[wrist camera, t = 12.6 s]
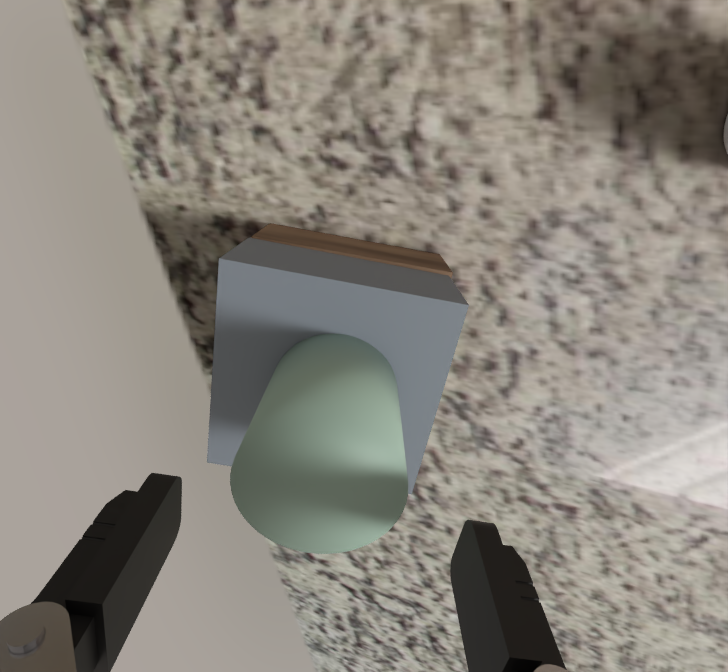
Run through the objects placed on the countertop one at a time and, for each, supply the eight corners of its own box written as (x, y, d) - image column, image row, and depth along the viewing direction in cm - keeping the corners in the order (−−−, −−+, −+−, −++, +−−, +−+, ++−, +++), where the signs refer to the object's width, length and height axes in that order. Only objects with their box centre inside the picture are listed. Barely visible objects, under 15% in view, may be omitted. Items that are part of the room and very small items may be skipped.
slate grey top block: (248, 237, 21) (218, 258, 17) (449, 275, 21) (468, 305, 17) (234, 410, 25) (207, 462, 20) (404, 438, 25) (411, 494, 21)
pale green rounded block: (279, 322, 18) (237, 397, 12) (410, 346, 18) (427, 430, 12) (266, 432, 20) (224, 540, 14) (383, 452, 20) (388, 564, 14)
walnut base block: (271, 222, 25) (251, 236, 21) (438, 253, 25) (452, 272, 21) (257, 373, 29) (238, 409, 25) (403, 396, 29) (408, 436, 25)
